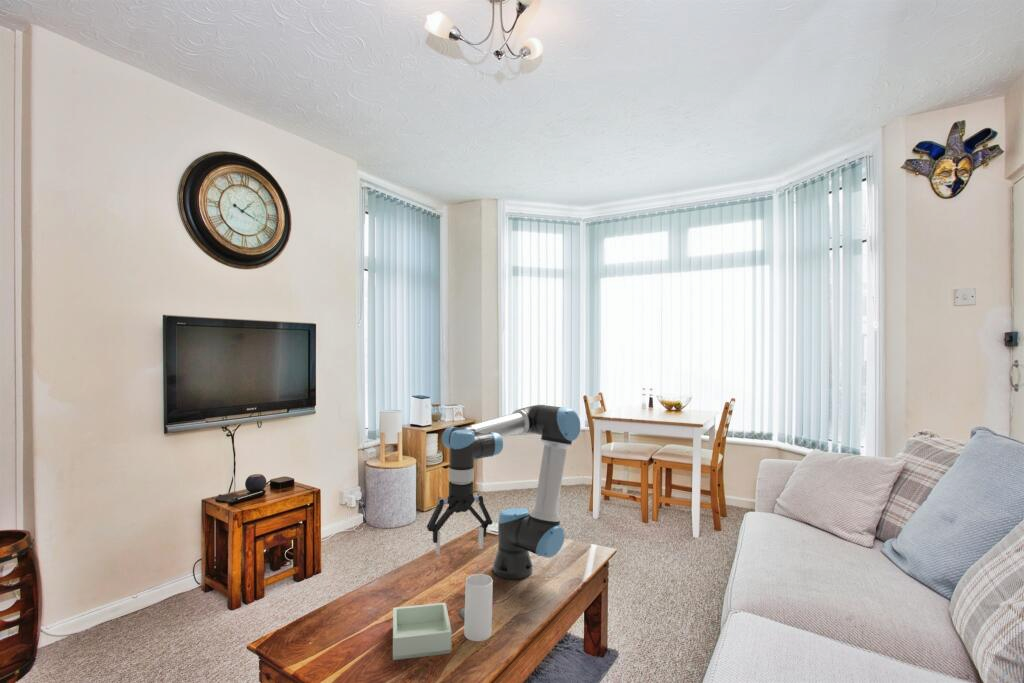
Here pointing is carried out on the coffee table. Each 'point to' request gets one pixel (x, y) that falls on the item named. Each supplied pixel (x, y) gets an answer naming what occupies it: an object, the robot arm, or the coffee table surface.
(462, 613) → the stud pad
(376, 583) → the coffee table surface
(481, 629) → the cup
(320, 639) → the coffee table surface
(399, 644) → the bin
